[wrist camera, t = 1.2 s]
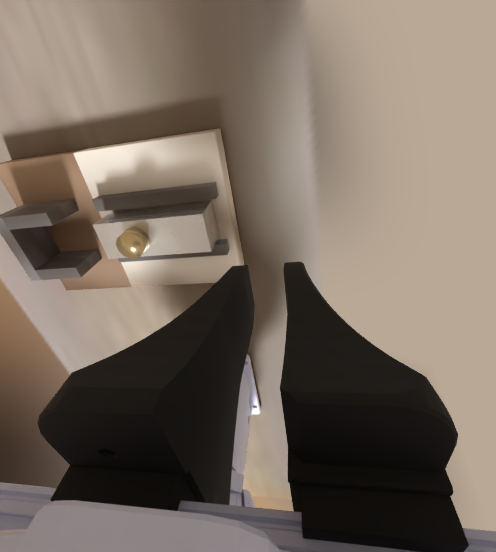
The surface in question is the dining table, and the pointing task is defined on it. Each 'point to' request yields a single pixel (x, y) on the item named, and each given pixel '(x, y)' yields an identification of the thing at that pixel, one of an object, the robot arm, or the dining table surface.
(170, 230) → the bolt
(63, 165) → the door and jamb
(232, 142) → the dining table surface
